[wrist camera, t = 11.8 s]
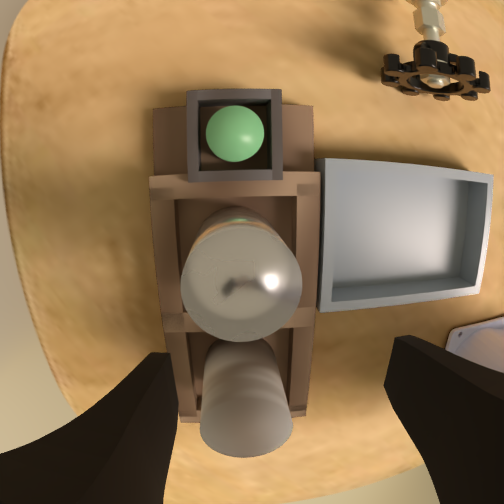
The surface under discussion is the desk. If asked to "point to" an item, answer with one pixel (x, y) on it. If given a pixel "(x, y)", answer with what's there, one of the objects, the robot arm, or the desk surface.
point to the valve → (433, 62)
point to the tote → (399, 233)
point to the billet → (240, 277)
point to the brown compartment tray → (180, 243)
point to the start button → (234, 133)
